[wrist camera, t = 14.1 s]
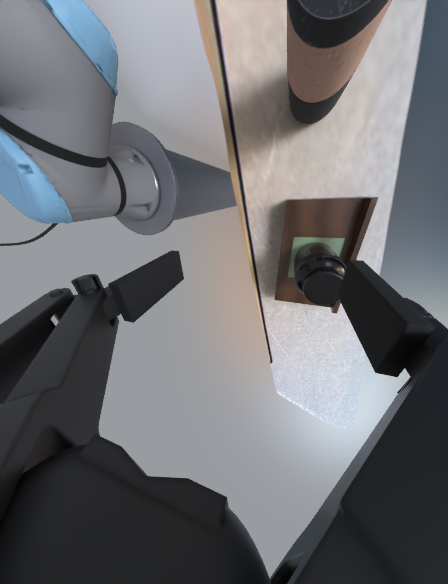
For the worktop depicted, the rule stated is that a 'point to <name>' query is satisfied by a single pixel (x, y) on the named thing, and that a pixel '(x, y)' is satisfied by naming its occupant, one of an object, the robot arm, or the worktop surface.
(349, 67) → the travel mug
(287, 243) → the wooden plaque with label
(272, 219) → the worktop surface
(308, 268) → the supplement bottle
